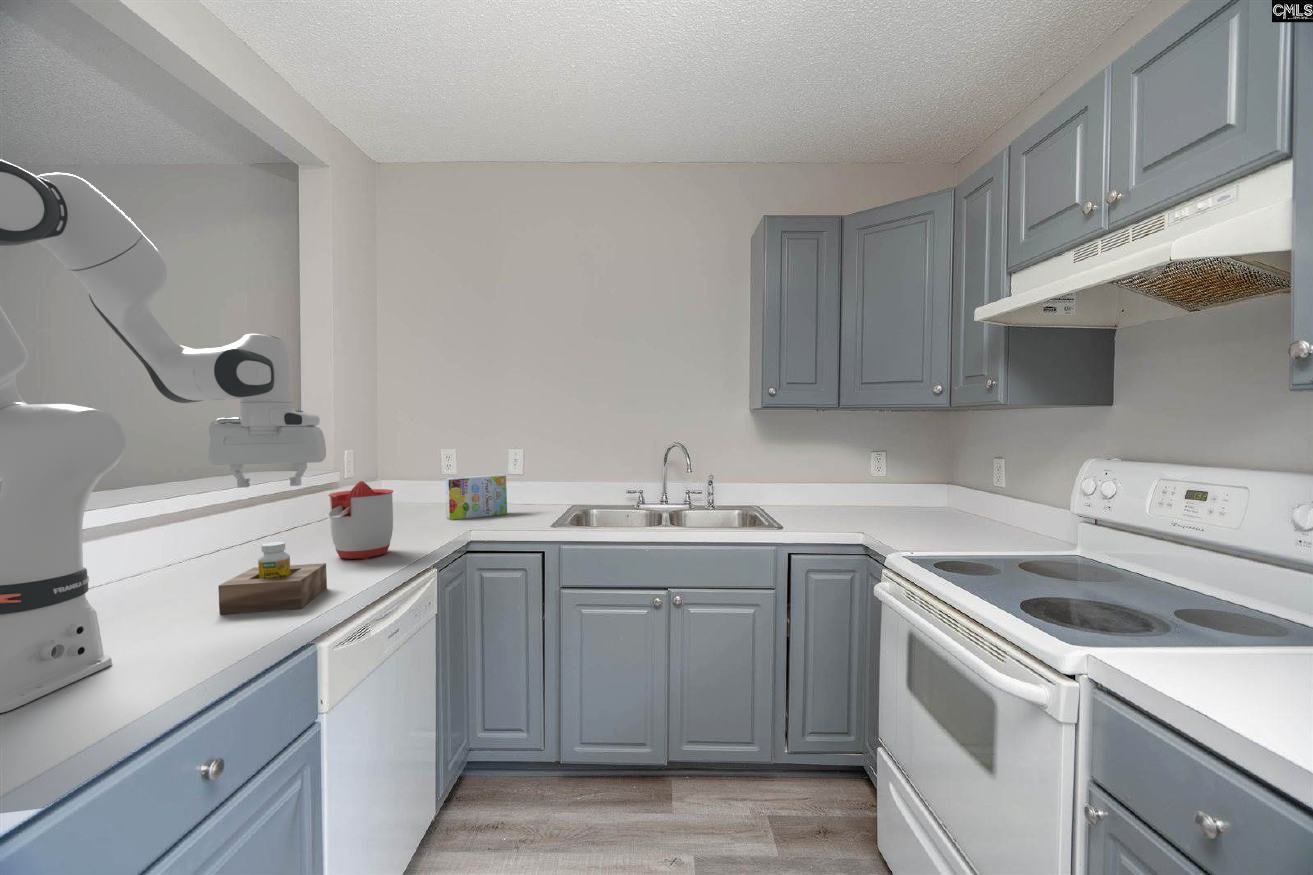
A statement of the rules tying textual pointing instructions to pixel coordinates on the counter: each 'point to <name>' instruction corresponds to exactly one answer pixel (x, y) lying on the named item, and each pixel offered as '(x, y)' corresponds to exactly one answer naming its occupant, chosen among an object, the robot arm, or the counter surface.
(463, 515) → the snack box
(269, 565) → the supplement bottle
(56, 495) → the robot arm
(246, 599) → the socket block
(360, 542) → the citrus juicer
